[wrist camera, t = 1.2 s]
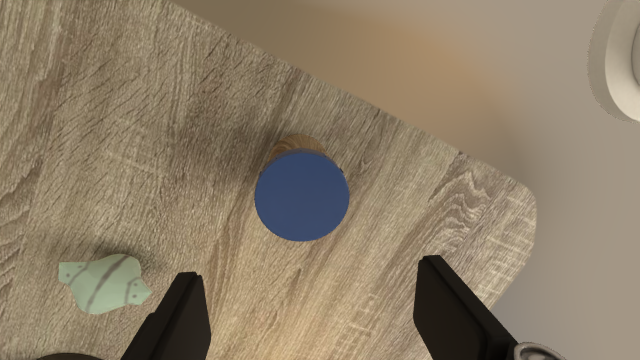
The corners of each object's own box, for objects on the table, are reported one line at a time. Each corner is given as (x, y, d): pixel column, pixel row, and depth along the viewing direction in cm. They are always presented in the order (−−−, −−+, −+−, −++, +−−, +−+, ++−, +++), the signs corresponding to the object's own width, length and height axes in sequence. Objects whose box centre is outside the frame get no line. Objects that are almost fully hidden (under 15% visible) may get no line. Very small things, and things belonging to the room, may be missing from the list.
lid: (299, 128, 21) (300, 132, 19) (362, 188, 23) (368, 196, 21) (238, 194, 22) (234, 202, 20) (303, 246, 24) (304, 258, 22)
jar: (296, 120, 29) (300, 136, 20) (340, 162, 30) (362, 194, 22) (255, 166, 30) (240, 199, 21) (300, 204, 31) (304, 250, 22)
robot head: (173, 258, 32) (144, 301, 25) (160, 287, 33) (129, 336, 26) (95, 230, 30) (42, 270, 24) (84, 262, 31) (30, 308, 25)
